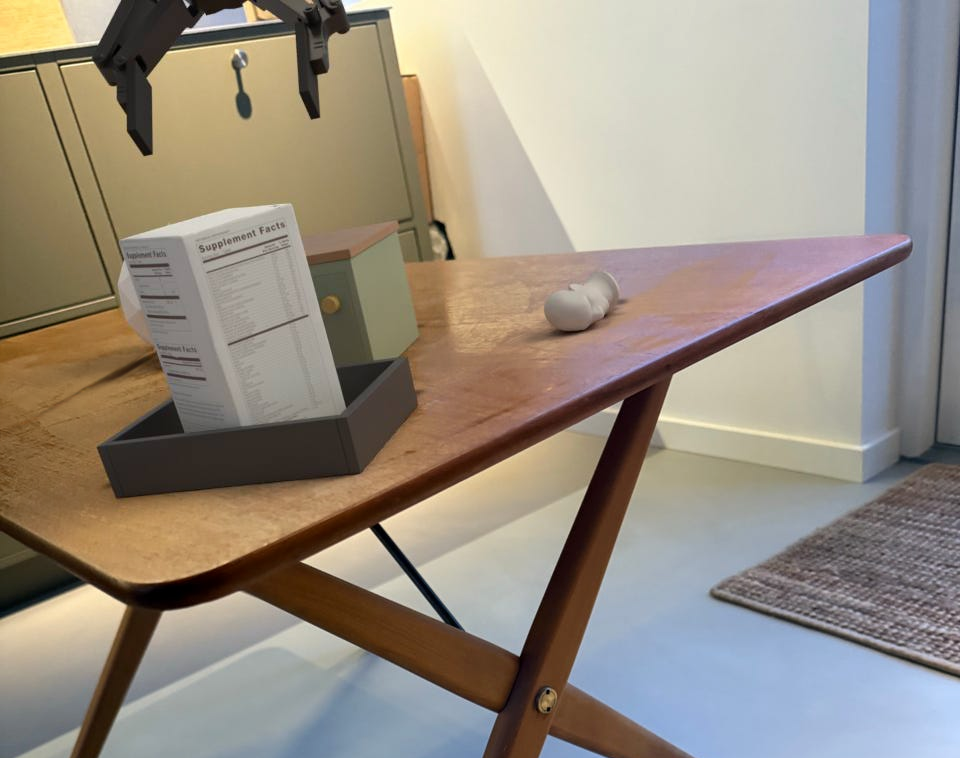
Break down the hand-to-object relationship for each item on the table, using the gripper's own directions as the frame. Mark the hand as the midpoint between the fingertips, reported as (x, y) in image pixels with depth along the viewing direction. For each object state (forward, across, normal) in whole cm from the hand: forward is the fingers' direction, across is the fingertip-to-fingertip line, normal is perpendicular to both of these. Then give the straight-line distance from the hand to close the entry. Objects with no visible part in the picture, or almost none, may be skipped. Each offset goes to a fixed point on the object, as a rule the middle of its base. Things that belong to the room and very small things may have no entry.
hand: (223, 125), depth 78 cm
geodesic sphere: (-7, +19, -38) cm, 43 cm away
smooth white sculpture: (+7, -25, -25) cm, 36 cm away
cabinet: (+6, -1, -26) cm, 26 cm away
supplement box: (+23, 0, -8) cm, 25 cm away
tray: (+23, 0, -8) cm, 25 cm away
